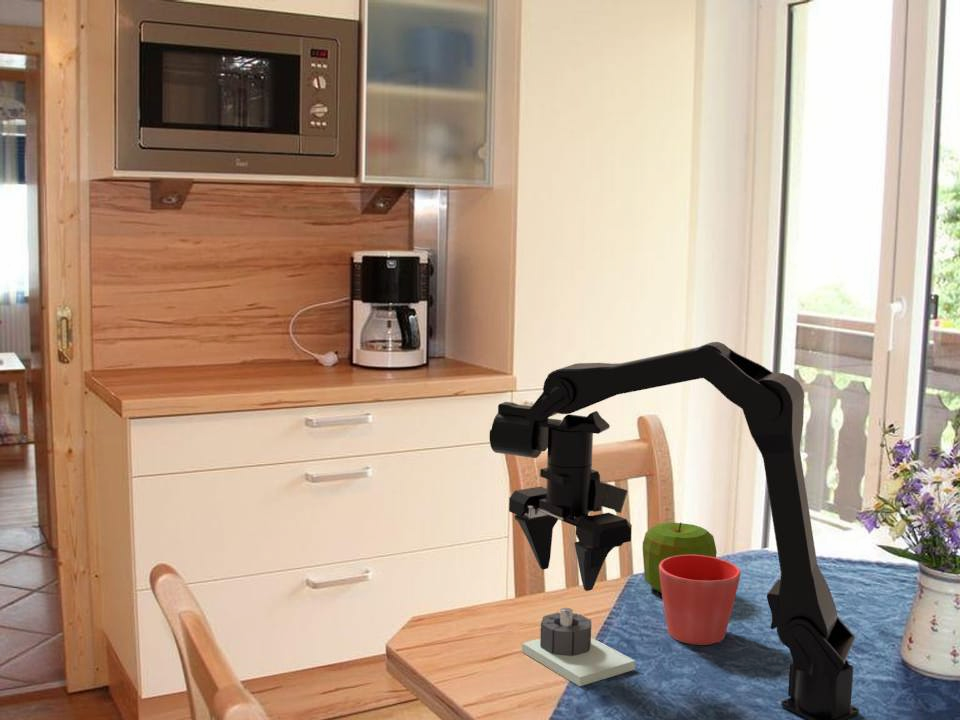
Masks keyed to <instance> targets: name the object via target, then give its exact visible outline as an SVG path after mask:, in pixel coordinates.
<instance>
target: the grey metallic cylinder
mask: <svg viewBox="0 0 960 720" xmlns="http://www.w3.org/2000/svg"><path fill="white" fill-rule="evenodd" d="M559 613H560V626H562V627H572V618H573V613H574V610H573V609H572V608H569V607H563V608H561V609H560V612H559Z"/></svg>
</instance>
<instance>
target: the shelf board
mask: <svg viewBox="0 0 960 720" xmlns="http://www.w3.org/2000/svg"><path fill="white" fill-rule="evenodd" d="M521 647H522V648H521V652H522V653H523V654H525V655H527V656H528V657H530V658H532V659H533V660H535V661H536V662H538V663H539V664H541V665H543V666H545V667H547V668H548V669H550V670H551V671H553V672H555V673H557V674H558V675H560V676H561V677H563V678H565V679H567V680H568V681H570V682H572V683H573V684H575V685H576V686H578V687H583V686H586V685H589V684H593V683H595V682H596V683H597V682H599V681H601V680H606V679H608V678H612V677H614V676H615V677H616V676H618V675H622V674H624V673H628V672H631V671H635V668H636V660H635V659H632V658H631V657H629V656H627V655H625V654H623V653H621V652H620V651H617V650H616V649H615V648H612V647H610V646H609V645H606V644H604V643H602V642H601V641H598V640H597V639H595V638H593V637H592V636H591V645H590V650H589V651H588V652H586V653H583V654H579V655H575V656H573V655H572V656H566V655H555V654H554V653H553V654H551V653H550V652H548V651H546V650H544V649H543V648H541V646H540V638H536V639H533V640H529V641H526V642H522V645H521Z"/></svg>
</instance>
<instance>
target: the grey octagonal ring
mask: <svg viewBox="0 0 960 720" xmlns="http://www.w3.org/2000/svg"><path fill="white" fill-rule="evenodd" d="M591 637H592V619H591V618H590V619H589V618H588V617H586V616H584V615H582V614H578V613H574V612H573V618H572V627H562V626H560V612H554V613H551V614H546V615H544V616H543V617H542V619H541V622H540V638H539V639H540V646H541V648H543V649H544V650H546V651H548V652H550V653H551V654H553V653H554V654H555V655H566V656H572V655H573V656H575V655H579V654H583V653H586V652H588V651H589V650H590V645H591Z"/></svg>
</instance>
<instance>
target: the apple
mask: <svg viewBox="0 0 960 720" xmlns="http://www.w3.org/2000/svg"><path fill="white" fill-rule="evenodd" d="M716 546H717V545H716V542H715V538H714V535H713V534H712V533H711V532H709V531H708V529H705V528H704V527H702V526H698V525H694V524H691V523H683V522H682V521H681V522H662V523H657V524H655V525H653V526H652V527H650V529H648V530H647V531H646V532H645V534H644V537H643V540H642V559H643V561H642V562H643V571H644V581H645V582H646V583H647V584H649V586H651V587H652V588H653V589H655V590H656V591H657V593H659V594H662V590H661V582H660V574H659V564H660V562H661V561H662V560H664V559H666V558H669V557H672V556H678V555H704V556H710V557H715V558H717V553H718V552H717V547H716Z"/></svg>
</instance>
